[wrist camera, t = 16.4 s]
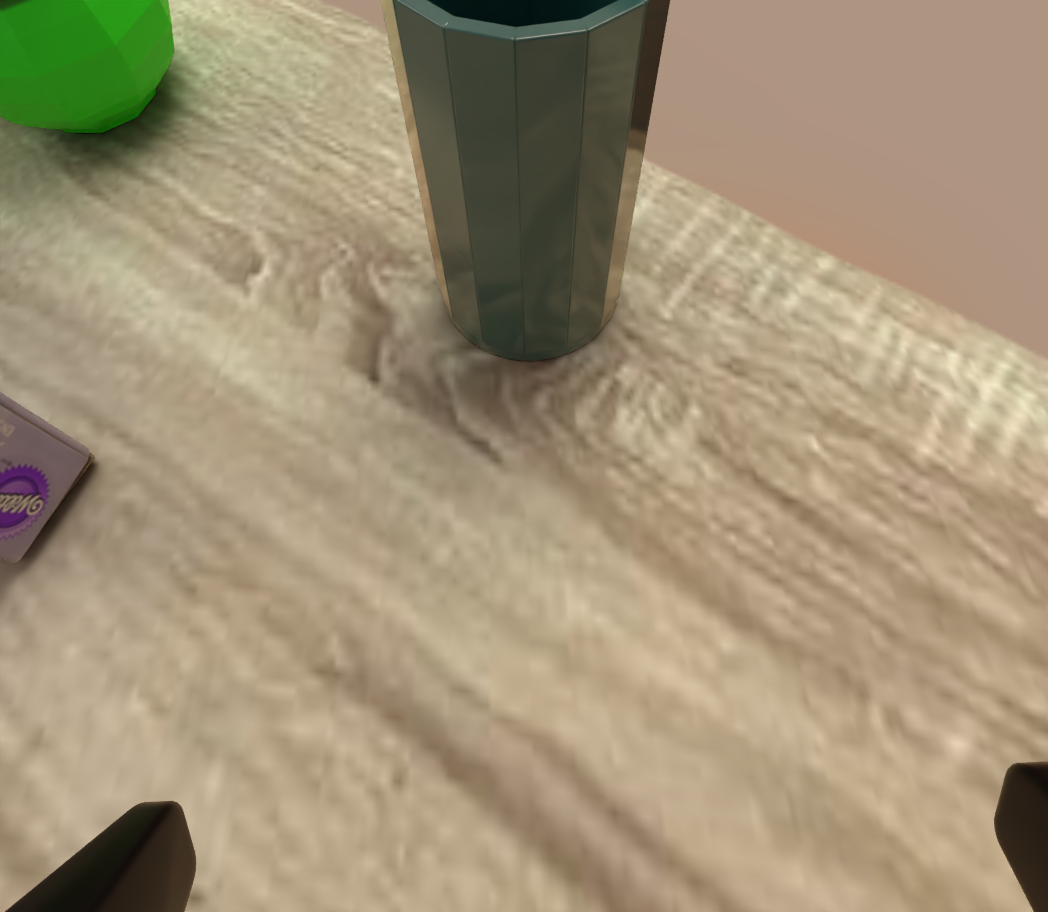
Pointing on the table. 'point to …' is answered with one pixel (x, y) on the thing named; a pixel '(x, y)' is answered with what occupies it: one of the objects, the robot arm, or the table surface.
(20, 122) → the plastic bottle
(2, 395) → the cake pan box
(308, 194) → the table surface
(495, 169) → the teal and beige cup
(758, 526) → the table surface
